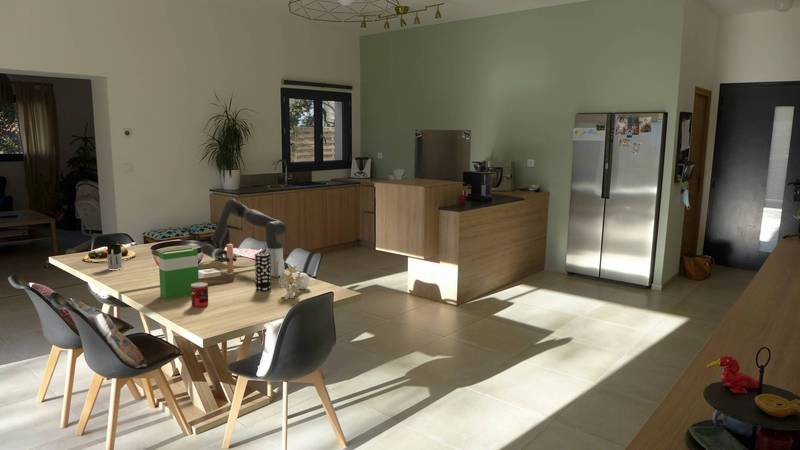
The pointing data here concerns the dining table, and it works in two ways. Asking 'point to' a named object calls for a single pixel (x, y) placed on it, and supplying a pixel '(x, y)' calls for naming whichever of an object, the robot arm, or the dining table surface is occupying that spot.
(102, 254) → the wooden plate with food
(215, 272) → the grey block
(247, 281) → the dining table surface
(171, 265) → the green box
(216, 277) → the walnut track
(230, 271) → the terracotta dowel
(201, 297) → the canned food
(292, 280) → the flower vase
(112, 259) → the black capped bottle
